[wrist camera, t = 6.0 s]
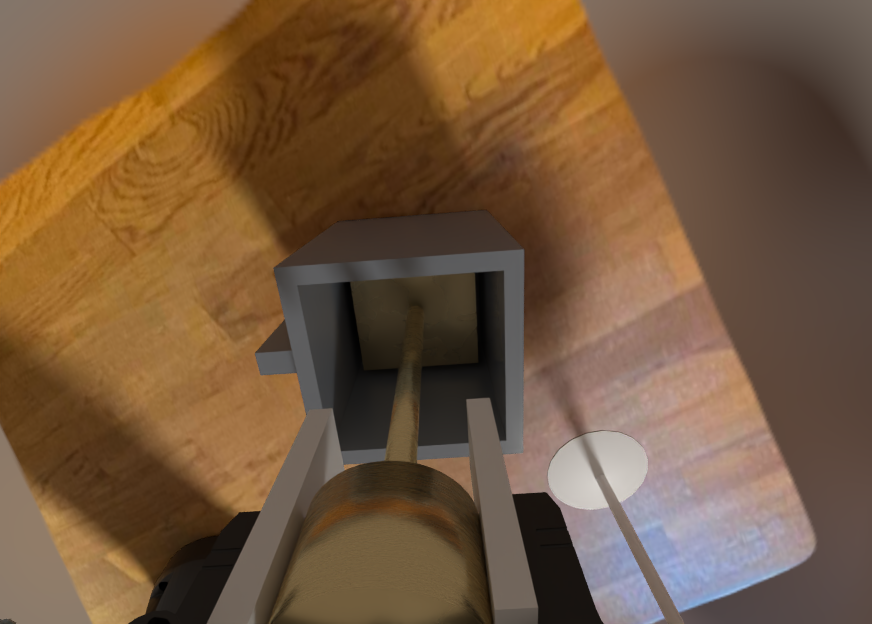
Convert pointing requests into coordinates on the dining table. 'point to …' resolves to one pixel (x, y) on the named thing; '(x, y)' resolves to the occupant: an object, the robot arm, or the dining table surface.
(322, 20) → the dining table surface
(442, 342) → the plunger
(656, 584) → the wineglass
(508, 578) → the robot arm
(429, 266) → the press pot
